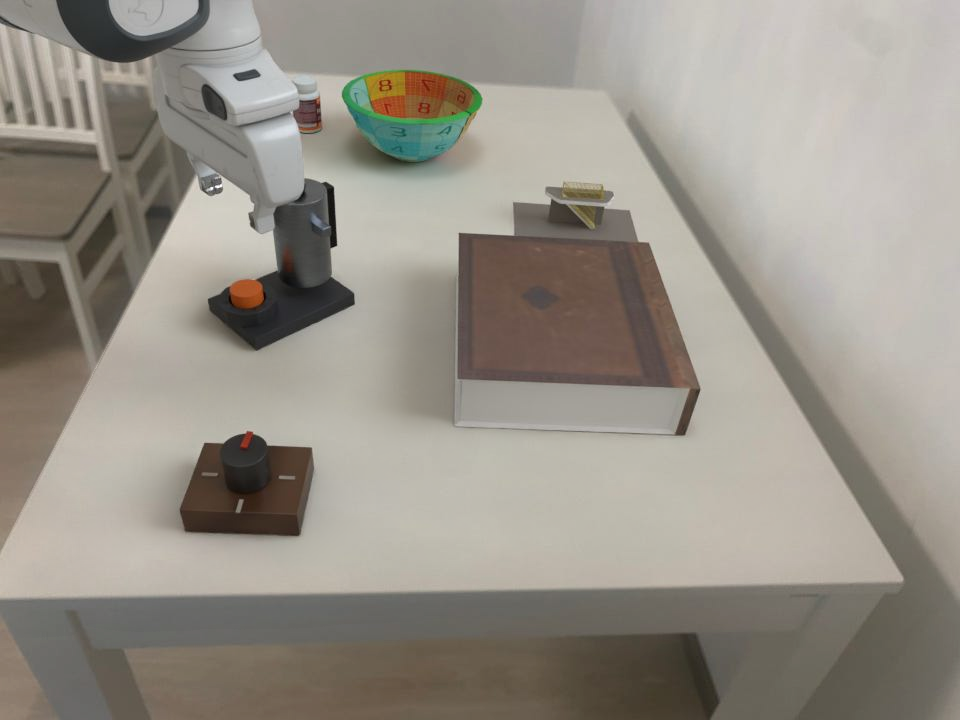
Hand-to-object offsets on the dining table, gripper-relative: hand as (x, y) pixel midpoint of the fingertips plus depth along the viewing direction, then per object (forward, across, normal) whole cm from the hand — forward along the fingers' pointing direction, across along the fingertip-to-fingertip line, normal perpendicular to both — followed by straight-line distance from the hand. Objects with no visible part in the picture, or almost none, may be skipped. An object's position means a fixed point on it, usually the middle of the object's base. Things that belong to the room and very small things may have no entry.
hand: (236, 210), depth 76 cm
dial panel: (+18, +18, -12) cm, 28 cm away
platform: (+19, +4, +51) cm, 54 cm away
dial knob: (+15, +18, -12) cm, 26 cm away
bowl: (+18, -29, +47) cm, 58 cm away
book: (+18, +21, +27) cm, 39 cm away
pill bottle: (+18, -47, +39) cm, 63 cm away
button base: (+18, -5, +6) cm, 20 cm away
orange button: (+15, -5, +2) cm, 16 cm away
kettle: (+14, -4, +11) cm, 18 cm away
